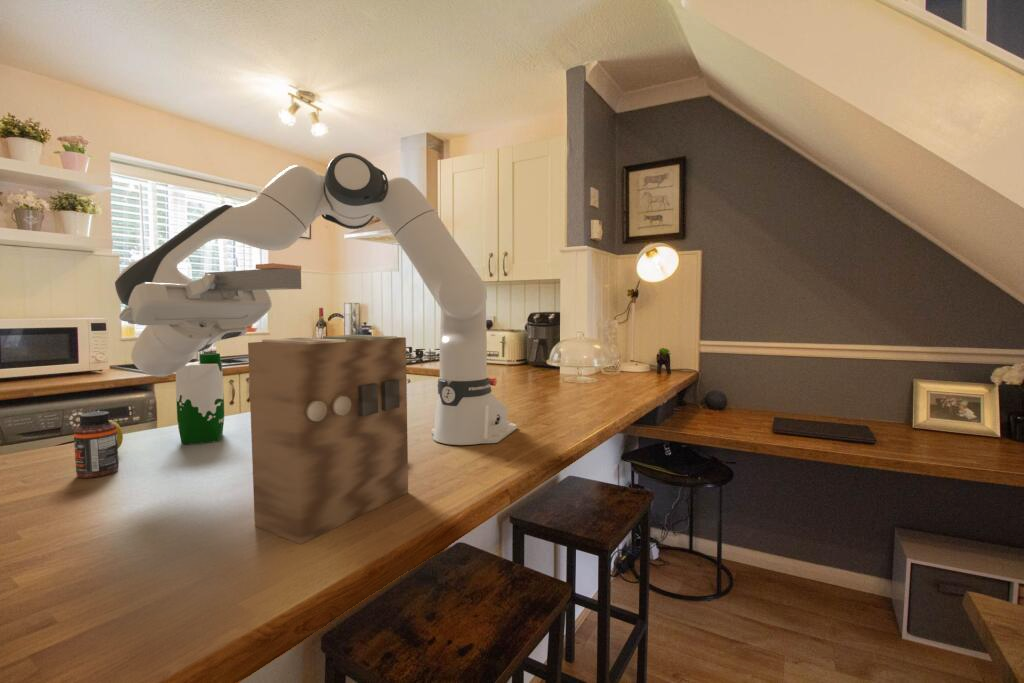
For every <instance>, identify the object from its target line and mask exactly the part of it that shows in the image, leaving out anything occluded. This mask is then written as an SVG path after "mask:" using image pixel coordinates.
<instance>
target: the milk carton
mask: <svg viewBox="0 0 1024 683" xmlns="http://www.w3.org/2000/svg"><path fill="white" fill-rule="evenodd" d="M222 365H223V363H222V361H221V354H220V353H216V352H215V353H214V352H212V353H208V352H207V353H201V354H199V361H194V362H191V361H190V362H188V363H187V364H186V365H185V366H184V367H182V368H181V369H179V370H178V371H176V372H175V397H176V401H175V402H176V419H177V427H178V433H179V438H180V444H181V445H182V444H186V445H191V444H190V443H196V444H202V443H201V442H206V443H214V442H213V441H216V442H219V441H220V439H221V437H222V436H223V432H224V422H225V395H224V376H223V366H222Z"/></svg>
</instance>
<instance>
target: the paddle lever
mask: <svg viewBox="0 0 1024 683" xmlns="http://www.w3.org/2000/svg"><path fill="white" fill-rule="evenodd" d="M205 274H213V275H217V279H218V280H219V285H218V286H216V288H215V289H208V290H207V291H249V290H267V291H277V290H279V291H280V290H282V291H283V290H302V266H301V265H295V264H294V265H293V264H284V263H259V264H255V269H244V270H232V271H230V270H229V271H214V272H213V271H212V272H204V275H205Z"/></svg>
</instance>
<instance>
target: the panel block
mask: <svg viewBox="0 0 1024 683" xmlns="http://www.w3.org/2000/svg"><path fill="white" fill-rule="evenodd" d="M247 350H248V355H247V356H248V378H249V379H248V380H249V382H248V383H249V402H250V403H249V405H250V407H249V408H250V429H251V430H250V432H251V456H252V457H251V458H252V461H251V462H252V482H253V483H252V484H253V514H254V516H253V518H254V527H255V528H258V529H261V530H263V531H266V532H268V533H271V534H273V535H276V536H278V537H281V538H283V539H286V540H288V541H290V542H294V543H296V544H298V545H302V544H304V543H306V542H308V541H311V540H312V539H315V538H317V537H319V536H321V535H322V534H323V535H324V534H325V533H327V532H329V531H331V530H333V529H335V528H337V527H340V526H342V525H343V524H345V523H348V522H350V521H351V520H354V519H356V518H359V517H360V516H362V515H364V514H366V513H369V512H370V511H372V510H375V509H377V508H379V507H381V506H383V505H386V504H387V503H390V502H392V501H393V500H396V499H398V498H400V497H402V496H403V495H406V494H408V493H409V458H408V457H409V456H408V453H409V452H408V451H409V450H408V449H409V448H408V445H409V444H408V396H407V395H408V393H407V392H408V390H407V387H408V386H407V380H408V378H407V338H406V337H405V336H404V337H401V336H397V335H375V334H373V335H372V334H342V335H341V334H340V335H326V336H325V335H323V336H322V337H321V338H318V337H317V338H316V337H287V338H269V339H262V340H261V341H255V342H247ZM401 495H402V496H401ZM399 496H400V497H399ZM397 497H398V498H397Z"/></svg>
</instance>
